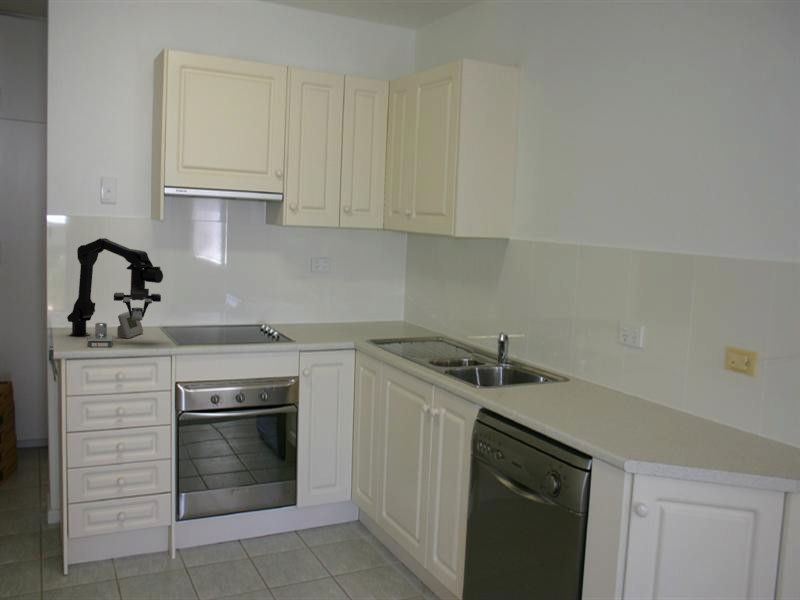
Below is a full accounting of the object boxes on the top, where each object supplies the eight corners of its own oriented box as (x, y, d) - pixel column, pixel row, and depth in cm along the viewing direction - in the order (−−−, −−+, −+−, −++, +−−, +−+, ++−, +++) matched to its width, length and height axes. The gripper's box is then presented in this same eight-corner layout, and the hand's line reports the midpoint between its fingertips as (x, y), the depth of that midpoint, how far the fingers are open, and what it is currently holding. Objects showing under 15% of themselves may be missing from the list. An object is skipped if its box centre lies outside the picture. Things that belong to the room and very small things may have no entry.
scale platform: (89, 336, 307) (89, 334, 307) (112, 336, 310) (112, 334, 310) (87, 341, 298) (87, 339, 298) (111, 341, 301) (111, 339, 301)
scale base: (89, 342, 308) (89, 337, 307) (112, 342, 311) (112, 337, 310) (87, 347, 298) (87, 342, 298) (111, 347, 301) (111, 342, 301)
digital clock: (127, 339, 320) (127, 315, 319) (109, 337, 322) (110, 313, 321) (149, 334, 336) (150, 311, 334) (132, 332, 338) (132, 309, 337)
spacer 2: (131, 318, 315) (131, 307, 314) (142, 319, 316) (142, 307, 316) (131, 320, 311) (131, 308, 310) (142, 320, 312) (142, 309, 312)
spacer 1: (95, 334, 308) (95, 322, 307) (106, 334, 310) (106, 322, 309) (95, 336, 304) (95, 324, 303) (106, 336, 306) (106, 324, 305)
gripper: (113, 282, 301) (112, 320, 303) (161, 283, 307) (160, 320, 309) (114, 279, 311) (113, 315, 313) (161, 280, 318) (159, 316, 319)
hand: (136, 317), depth 313 cm, fingers closed on spacer 2, 4 cm apart
